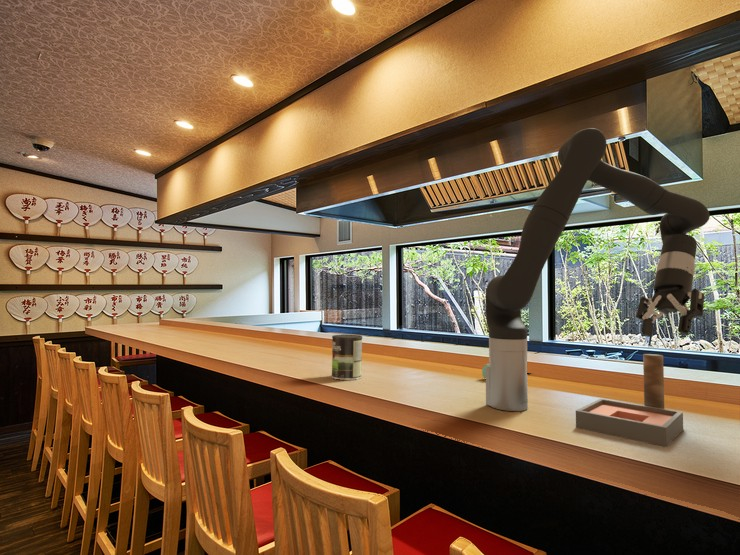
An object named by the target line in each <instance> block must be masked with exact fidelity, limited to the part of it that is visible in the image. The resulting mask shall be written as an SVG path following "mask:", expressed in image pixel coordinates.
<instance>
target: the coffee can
mask: <svg viewBox="0 0 740 555" xmlns="http://www.w3.org/2000/svg"><path fill="white" fill-rule="evenodd" d="M331 339H332V345H331V346H332V347H331V348H332V350H331V352H332V353H331V354H332V355H331V379H333V378H334V379H333V380H336V379H340V380H339V381H356V380H355V379H358V380H361V379H362V361H363V360H362V359H363V358H362V356H363V355H362V354H363V353H362V349H363V335H358V334H334V335H332V336H331ZM360 378H361V379H360Z"/></svg>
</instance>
